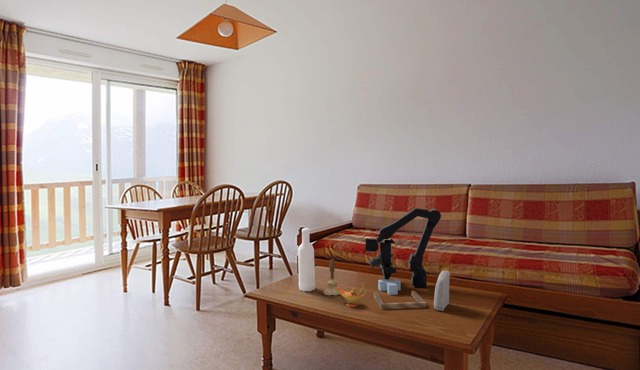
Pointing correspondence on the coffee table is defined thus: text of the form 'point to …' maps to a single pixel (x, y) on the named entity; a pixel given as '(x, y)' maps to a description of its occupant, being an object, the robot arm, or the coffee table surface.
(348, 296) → the magic lamp
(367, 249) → the robot arm
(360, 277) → the coffee table surface
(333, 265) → the hand bell
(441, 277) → the decorative stone
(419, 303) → the bay
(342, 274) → the coffee table surface
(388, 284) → the grey stepped block
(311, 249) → the bottle
